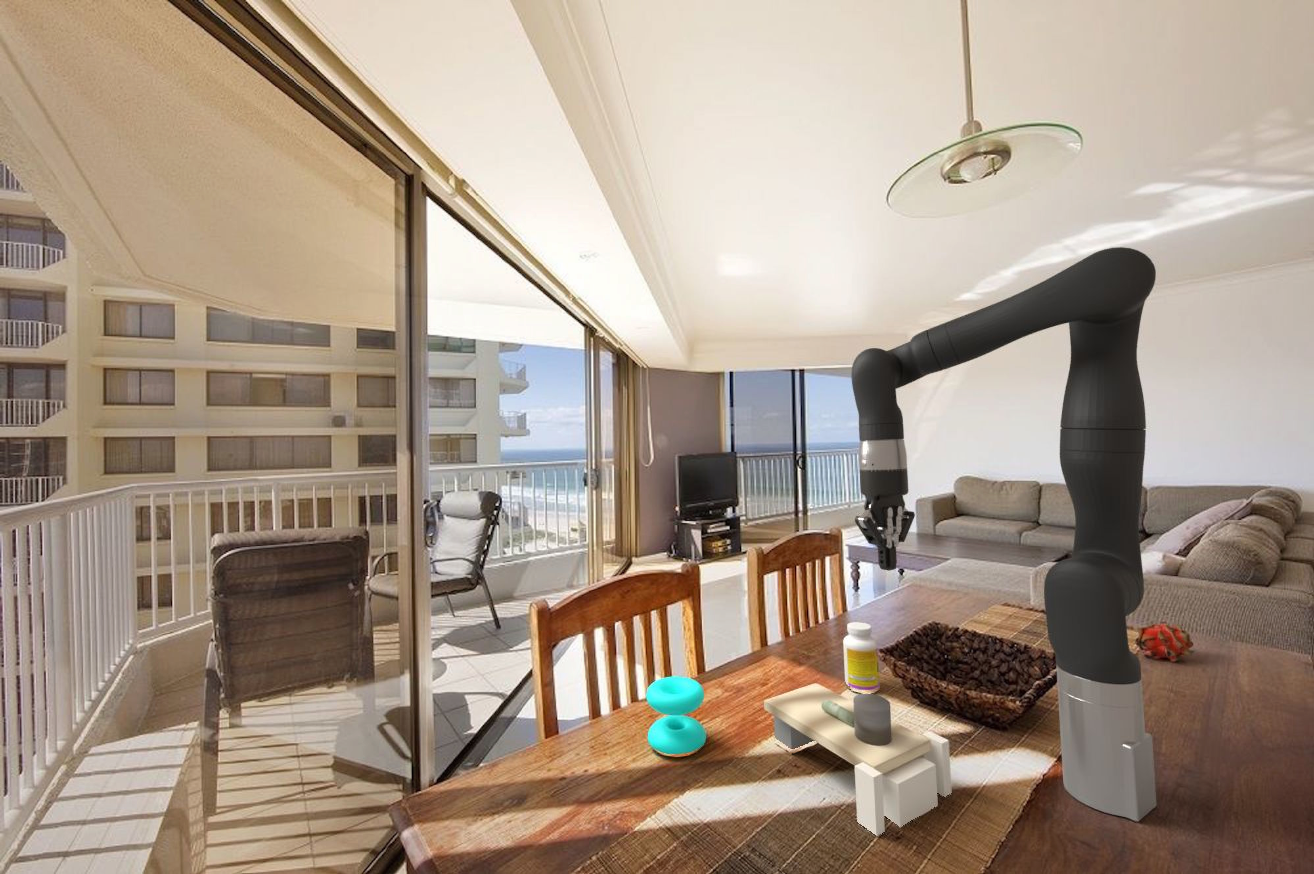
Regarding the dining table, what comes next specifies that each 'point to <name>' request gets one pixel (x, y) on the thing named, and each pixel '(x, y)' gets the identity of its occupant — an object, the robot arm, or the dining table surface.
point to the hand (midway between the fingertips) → (888, 569)
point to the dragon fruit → (1164, 641)
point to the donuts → (676, 715)
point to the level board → (849, 726)
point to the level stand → (891, 782)
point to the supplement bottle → (860, 657)
